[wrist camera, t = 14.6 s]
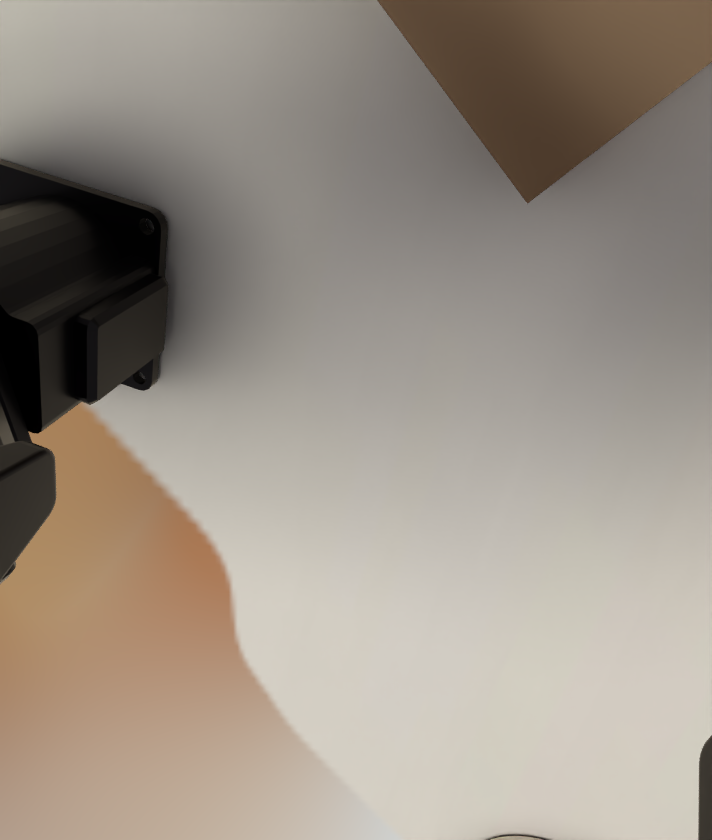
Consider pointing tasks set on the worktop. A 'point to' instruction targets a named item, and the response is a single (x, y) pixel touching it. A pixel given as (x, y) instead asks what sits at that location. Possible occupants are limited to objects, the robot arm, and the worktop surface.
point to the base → (554, 70)
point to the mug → (515, 838)
